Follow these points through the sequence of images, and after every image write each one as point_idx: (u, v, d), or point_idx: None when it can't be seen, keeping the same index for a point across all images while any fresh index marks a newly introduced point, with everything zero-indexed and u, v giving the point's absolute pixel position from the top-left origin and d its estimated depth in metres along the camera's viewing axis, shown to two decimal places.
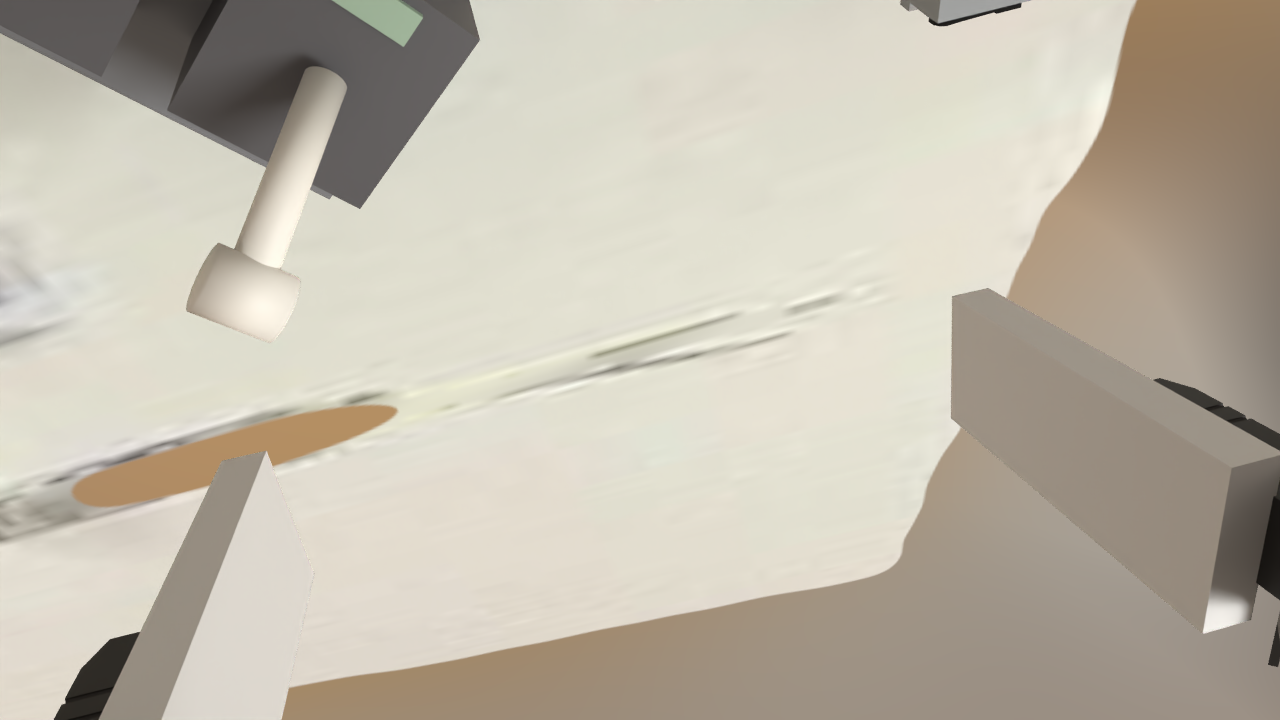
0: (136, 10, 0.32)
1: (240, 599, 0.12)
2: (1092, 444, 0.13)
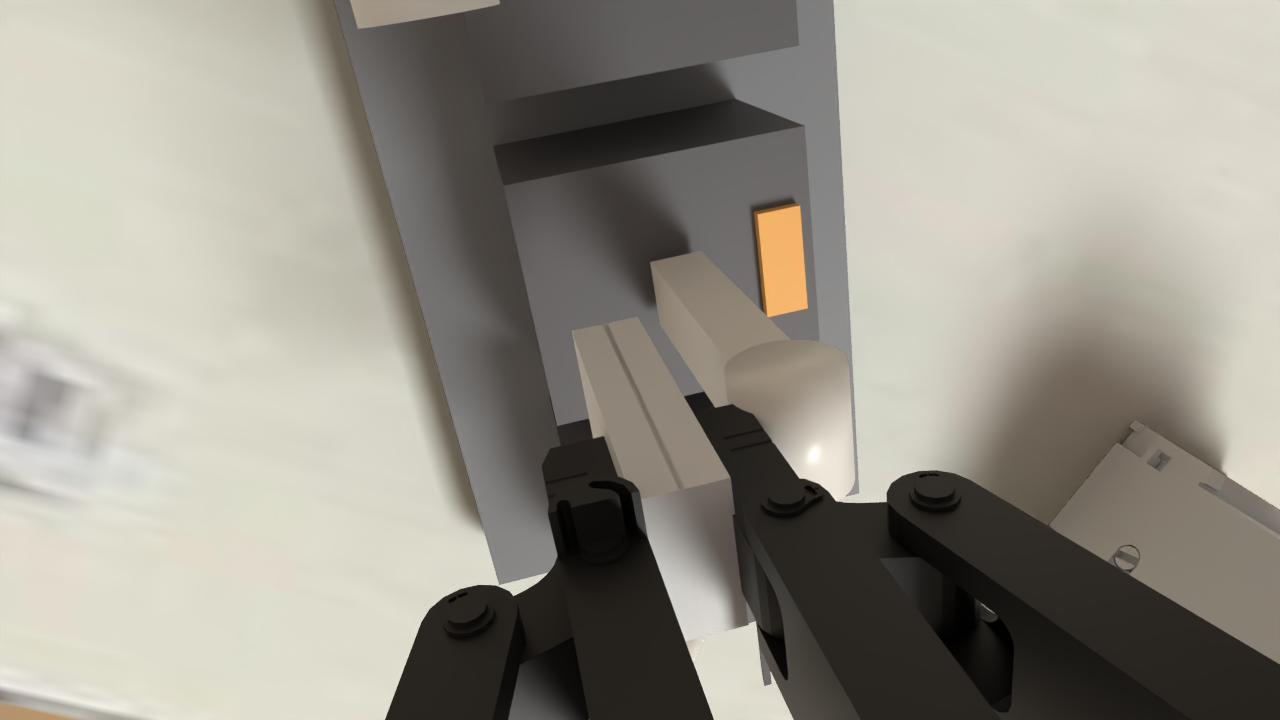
0: (536, 348, 0.30)
1: None
2: None
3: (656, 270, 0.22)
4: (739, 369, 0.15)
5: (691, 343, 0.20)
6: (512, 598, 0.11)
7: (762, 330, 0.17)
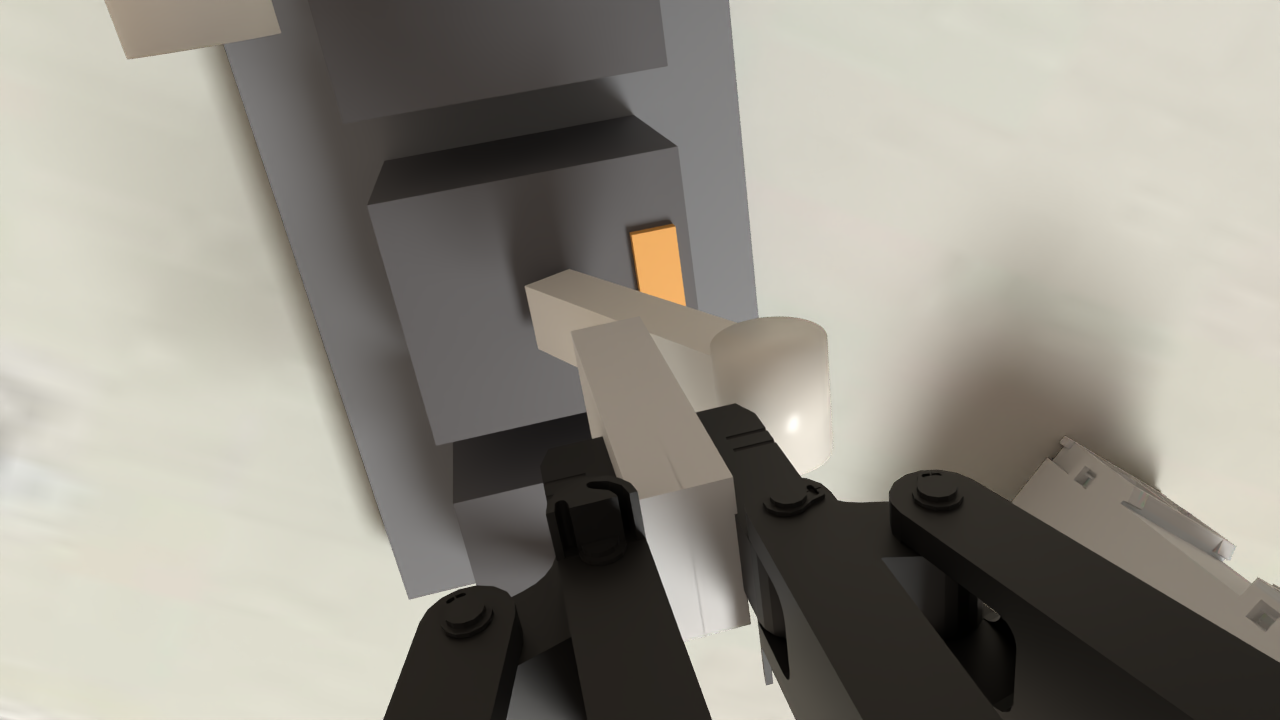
0: None
1: None
2: None
3: (539, 291, 0.21)
4: (728, 351, 0.16)
5: None
6: (510, 598, 0.11)
7: (703, 320, 0.18)
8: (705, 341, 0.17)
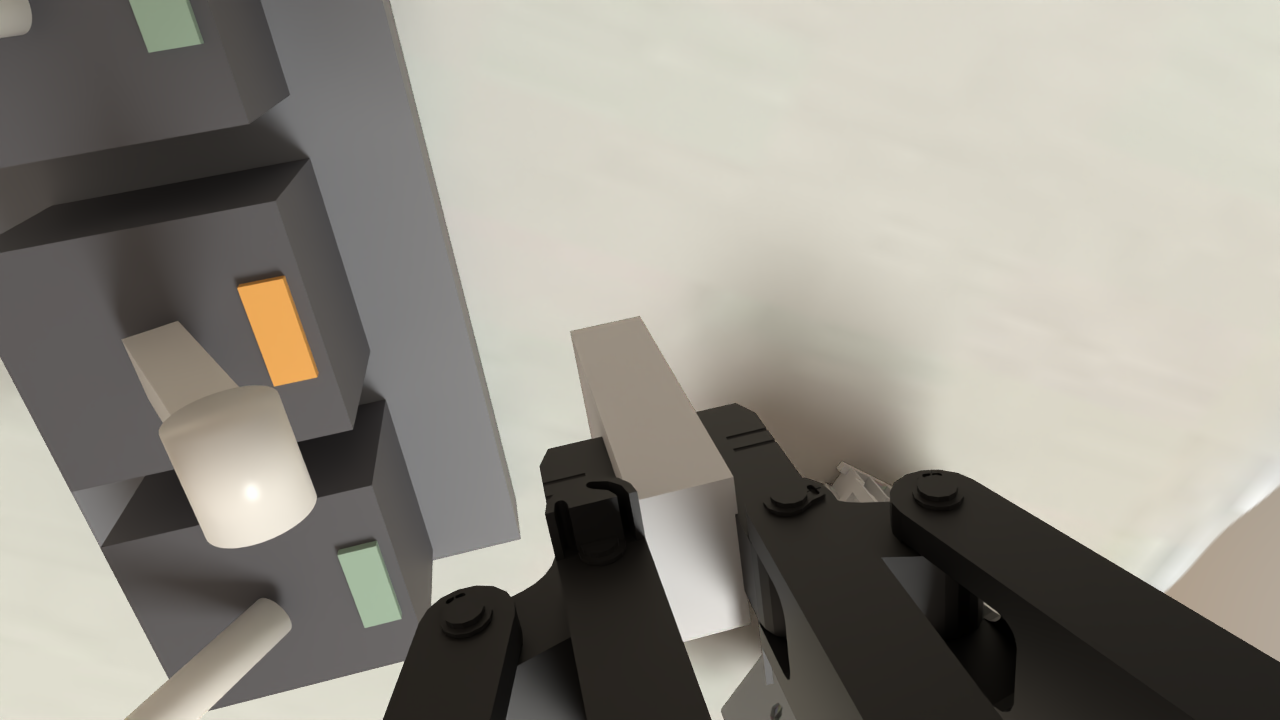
0: None
1: None
2: None
3: (126, 346, 0.22)
4: (174, 424, 0.16)
5: (161, 411, 0.20)
6: (509, 599, 0.11)
7: (216, 385, 0.18)
8: None
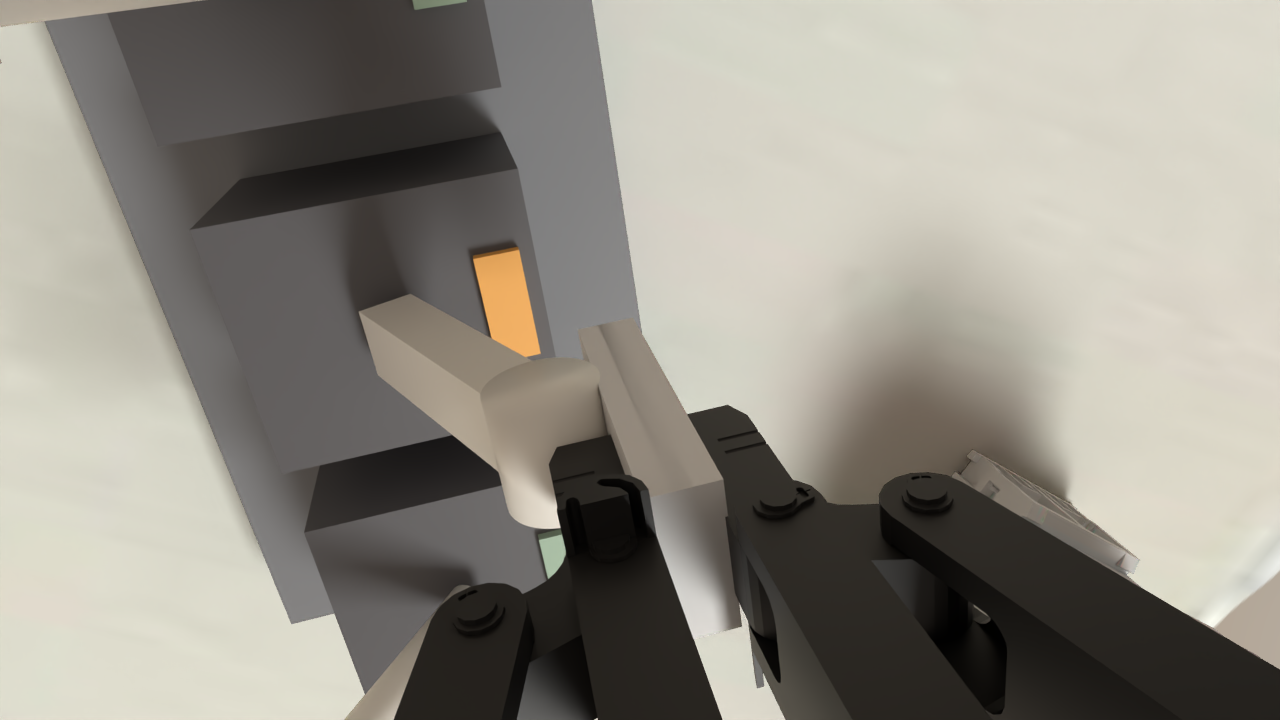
0: None
1: None
2: None
3: (368, 318, 0.21)
4: (495, 395, 0.15)
5: (425, 385, 0.19)
6: (521, 596, 0.11)
7: (502, 357, 0.18)
8: None
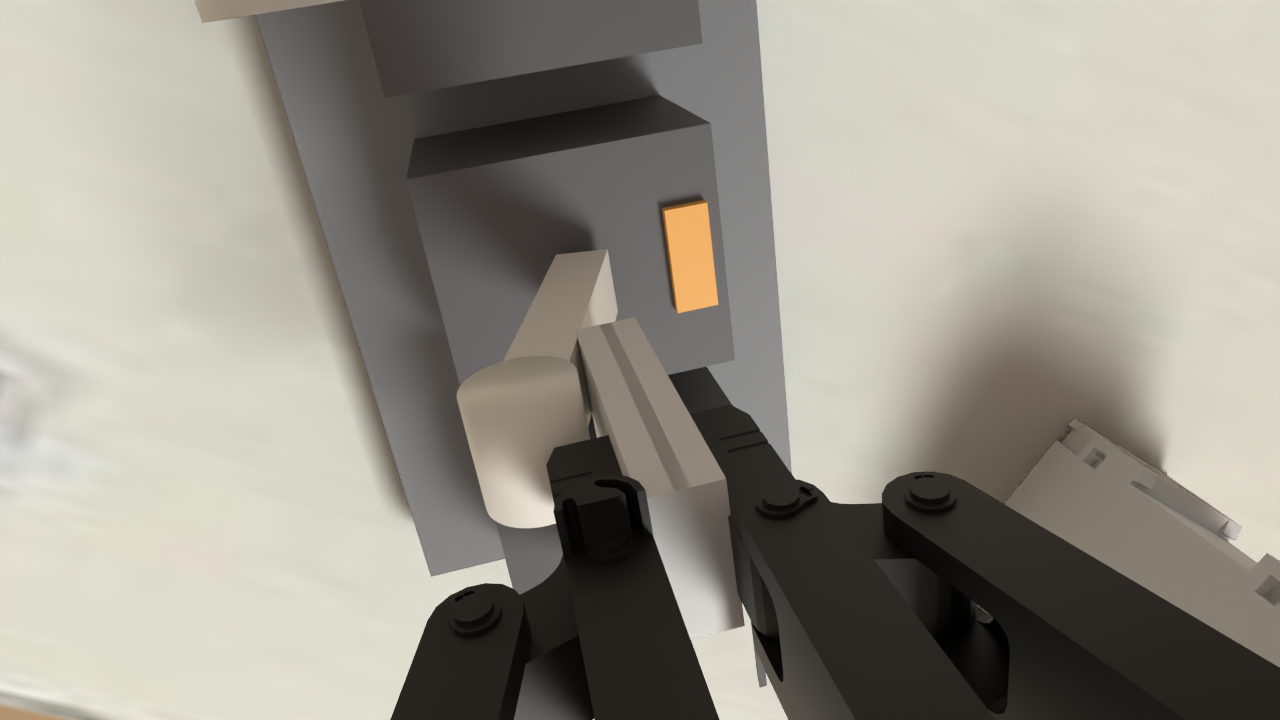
0: None
1: None
2: None
3: (551, 264, 0.22)
4: (479, 379, 0.16)
5: None
6: (518, 597, 0.11)
7: (560, 341, 0.18)
8: None
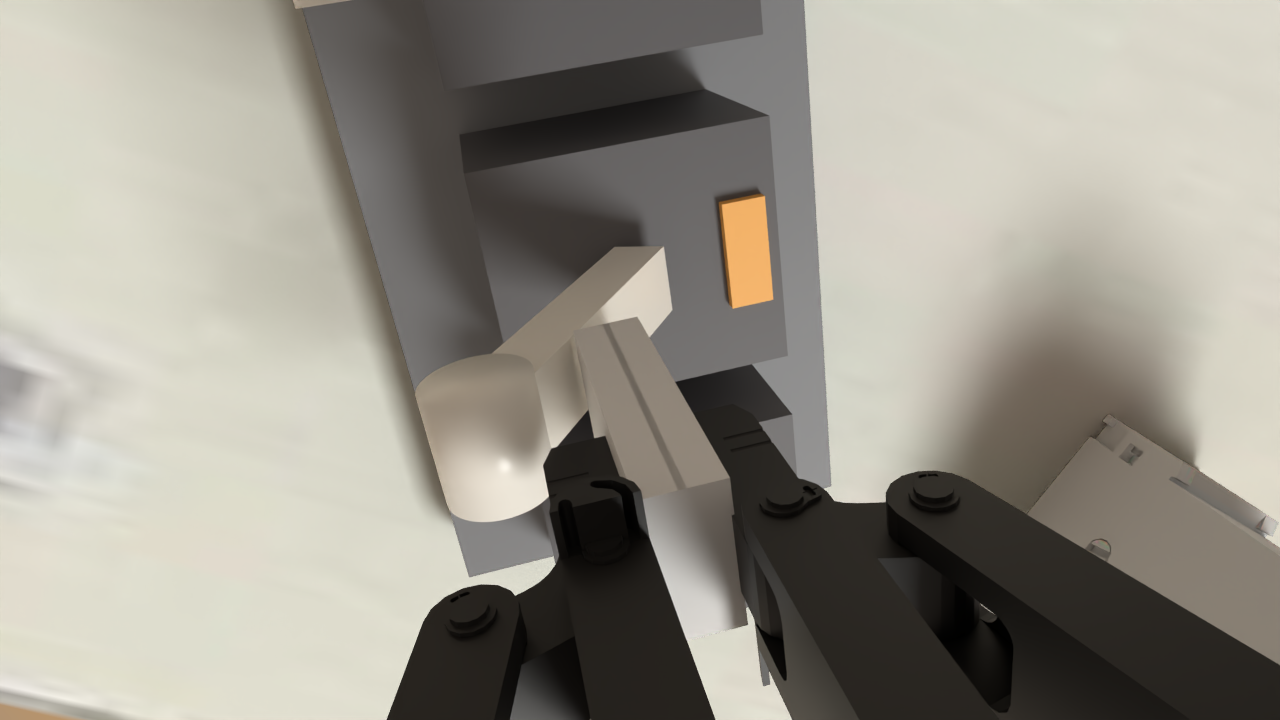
0: None
1: None
2: None
3: (604, 256, 0.22)
4: (448, 371, 0.16)
5: None
6: (514, 597, 0.11)
7: (551, 341, 0.18)
8: None
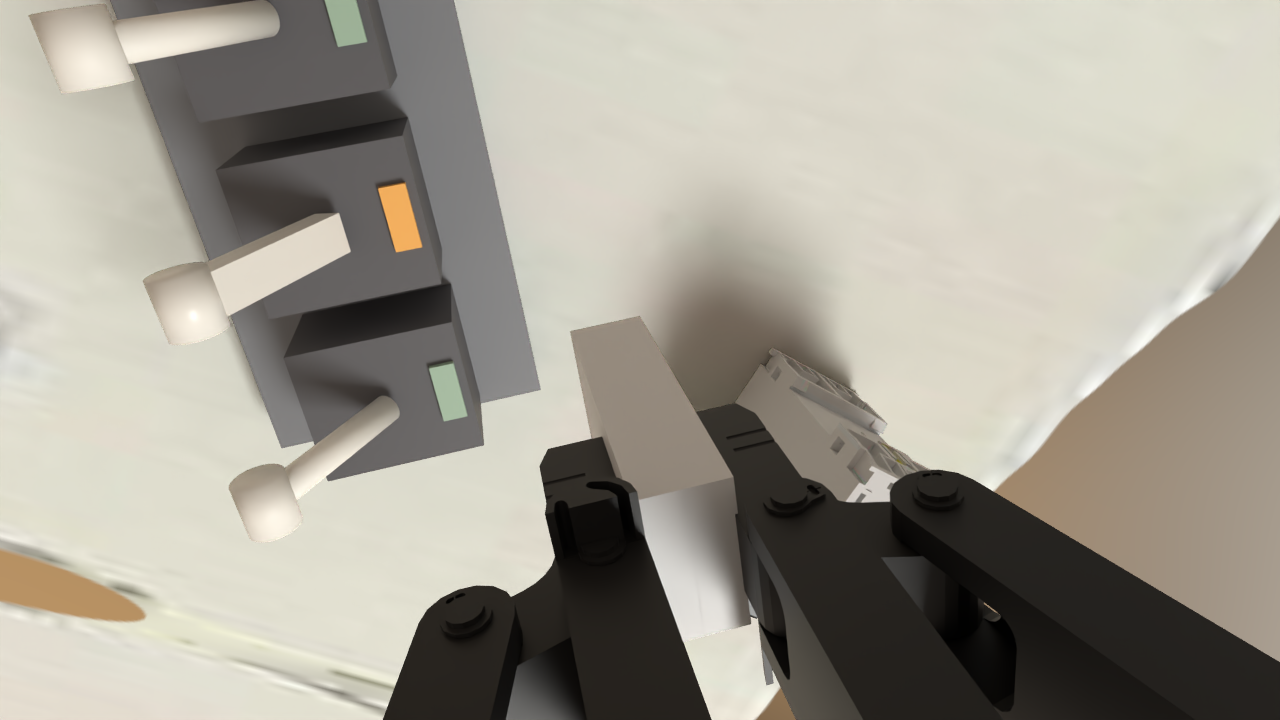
0: None
1: None
2: None
3: (303, 219, 0.37)
4: (167, 270, 0.32)
5: None
6: (509, 599, 0.11)
7: (233, 258, 0.33)
8: None
